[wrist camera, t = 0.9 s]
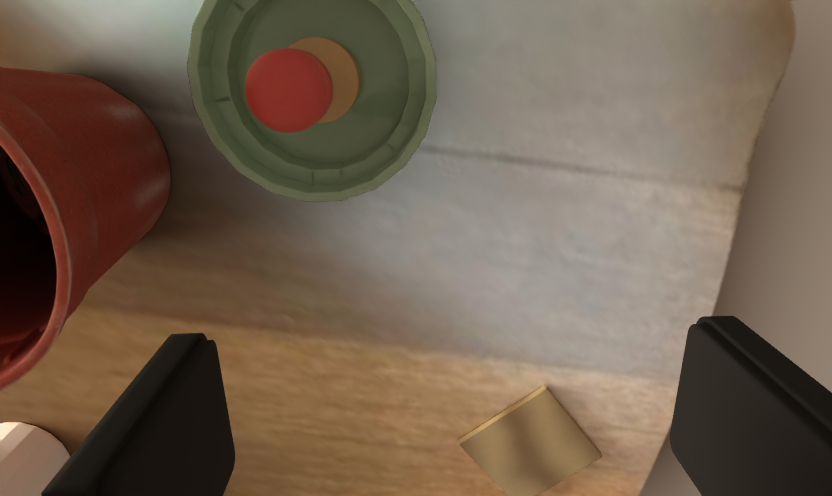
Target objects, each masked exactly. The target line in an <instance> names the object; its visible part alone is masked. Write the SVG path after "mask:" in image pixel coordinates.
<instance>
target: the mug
mask: <svg viewBox="0 0 832 496" xmlns="http://www.w3.org/2000/svg"><path fill="white" fill-rule="evenodd" d="M69 458H70V455H69V453H68V452H67V450H66V449H65V447H64V446H63V444H62V443H61V442H60V441H59V440H57V439H56V438H55V437H54V436H53V435H52V434H50V433H48V432H47V431H45V430H43V429H41V428H39V427H37V426H33V425H29V424H25V423H21V422H4V423H1V424H0V496H42V495H41V492H42V491H43V490H44V489H45V488H46V486H47V485H48V484H49V483H50V481H51V480H52V479H53V478H54V477H55V475H56V474H57V473H58V472H59V470H60V469H61V468H62V467H63V466H64V464H65V463H66V462H67V461H68V459H69Z"/></svg>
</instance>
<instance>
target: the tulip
mask: <svg viewBox="0 0 832 496" xmlns="http://www.w3.org/2000/svg"><path fill="white" fill-rule="evenodd" d="M361 86H362V74H361V70H360V66H359V64H358V62H357V60H356V58H355V56H354V55H353V54H352V52H351V51H350V50H349V49H348V48H346V47H345V46H344V45H342V44H341V43H339V42H337V41H334V40H332V39H327V38H322V37H307V38H303V39H300V40H298V41H296V42H294V43H293V44H291V45H290V46H289V47H288V48H279V49H274V50H271V51H268V52H266V53H264V54H262V55H261V56H260V57H258V58H257V59H256V60H255V61H254V62H253V63H252V65H251V66H250V68H249V70H248V72H247V75H246V78H245V86H244V87H245V97H246V100H247V104H248V106H249V108H250V110H251V112H252V113H253V114H254V116H255V117H256V118H257V119H258V120H259V121H260V122H261V123H262V124H264V125H265V126H267V127H268V128H270V129H273V130H275V131H278V132H283V133H294V132H299V131H303V130H305V129H308V128H309V127H311V126H312V125H314V124H315V123H319V124H320V123H328V122H332V121H335V120H337V119H339V118H340V117H342V116H343V115H344V114H346V113H347V112H348V111H349V110H350V108H351V107H352V106H353V105H354V104H355V102H356V101H357V99H358V97H359V94H360V91H361Z"/></svg>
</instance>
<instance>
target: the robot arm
mask: <svg viewBox="0 0 832 496" xmlns="http://www.w3.org/2000/svg"><path fill="white" fill-rule="evenodd" d="M670 443H671V448H672V450H673V453H674V455H675V456H676V458H677V459H678V461H679V462H680V464H681V465H682V467H683V468H684V470H685V471H686V473H687V474H688V475H689V477H690V478H691V480H692V481H693V483H694V484H695V486H696V487H697V489H698V490H699V492H700V493H701V494H702V496H832V393H831V392H830V391H829V390H827V389H826V388H825V387H824V386H822V385H821V384H820V383H819V382H817V381H816V380H815V379H814V378H812V377H811V376H810V375H808V374H807V373H806V372H805V371H803V370H802V369H801V368H799V367H798V366H797V365H796V364H794V363H793V362H792V361H791V360H789V359H788V358H787V357H785V356H784V355H783V354H782V353H781V352H779V351H778V350H777V349H775V348H774V347H773V346H772V345H770V344H769V343H768V342H767V341H765V340H764V339H763V338H761V337H760V336H759V335H758V334H756V333H755V332H754V331H753V330H751V329H750V328H749V327H748V326H746V325H745V324H744V323H743V322H741V321H740V320H739V319H738V318H736V317H734V316H710V317H701V318H700V319H699V320H698V321H697V323H696V324H693V325H691V326H690V328H689V330H688V335H687V340H686V346H685V352H684V357H683V363H682V369H681V375H680V380H679V386H678V392H677V397H676V403H675V409H674V415H673V420H672V426H671V432H670ZM234 463H235V449H234V443H233V438H232V432H231V426H230V421H229V415H228V409H227V403H226V398H225V392H224V386H223V381H222V375H221V369H220V363H219V358H218V352H217V347H216V344H215V342H214V341H213V340H207V338H206V336H205V335H204V334H203V333H189V334H172V335H170V336H169V337H168V338H167V340H166V341H165V342H164V343H163V345H162V346H161V347H160V348H159V349H158V351H157V352H156V353H155V354H154V356H153V357H152V358H151V359H150V360H149V362H148V363H147V364H146V365H145V367H144V368H143V369H142V370H141V371H140V373H139V374H138V375H137V376H136V378H135V379H134V380H133V381H132V382H131V384H130V385H129V386H128V387H127V389H126V390H125V391H124V392H123V393H122V395H121V396H120V397H119V398H118V400H117V401H116V402H115V403H114V404H113V406H112V407H111V408H110V409H109V411H108V412H107V413H106V414H105V415H104V417H103V418H102V419H101V420H100V422H99V423H98V424H97V425H96V426H95V428H94V429H93V430H92V431H91V433H90V434H89V435H88V436H87V437H86V439H85V440H84V441H83V442H82V444H81V445H80V446H79V447H78V448H77V450H76V451H75V452H74V453H73V455H72V456H71V457H70V458H69V459H68V461H67V462H66V463H65V464H64V466H63V467H62V468H61V469H60V470H59V472H58V473H57V474H56V475H55V477H54V478H53V479H52V480H51V481H50V483H49V484H48V485H47V486H46V488H45V489H44V490H43V491H42V492H41V495H42V496H223V494H224V491H225V489H226V486H227V484H228V481H229V479H230V476H231V474H232V471H233V468H234Z"/></svg>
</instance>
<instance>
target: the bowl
mask: <svg viewBox="0 0 832 496" xmlns="http://www.w3.org/2000/svg"><path fill="white" fill-rule="evenodd" d="M307 37H322V38H327V39H332V40H334V41H337V42H339V43H341V44H342V45H344V46H345V47H346V48H348V49H349V50H350V51H351V52H352V54H353V55H354V56H355V58H356V60H357V62H358V64H359V66H360V70H361V74H362V86H361V91H360V94H359V97H358V99H357V101H356V102H355V104H354V105H353V106H352V107H351V108H350V110H349V111H348V112H347V113H346V114H344V115H343V116H342V117H340V118H339V119H337V120H335V121H332V122H328V123H320V124H319V123H315V124H314V125H312V126H311V127H309V128H308V129H305V130H303V131H299V132H294V133H283V132H278V131H275V130H273V129H270V128H268V127H267V126H265V125H264V124H262V123H261V122H260V121H259V120H258V119H257V118H256V117H255V116H254V114H253V113H252V112H251V110H250V108H249V106H248V104H247V100H246V97H245V87H244V86H245V78H246V75H247V72H248V70H249V68H250V66H251V65H252V63H253V62H254V61H255V60H256V59H257V58H258V57H260V56H261V55H262V54H264V53H266V52H268V51H271V50H274V49H279V48H288V47H289V46H290V45H291V44H293V43H294V42H296V41H298V40H300V39H303V38H307ZM187 70H188V76H189V82H190V88H191V94H192V100H193V106H194V108H195V110H196V112H197V114H198V116H199V118H200V120H201V122H202V124H203V126H204V128H205V130H206V132H207V134H208V136H209V138H210V141H211V142H212V144H213V145H214V146H215V147H216V148H217V149H218V150H219V152H220V153H221V154H222V155H223V156H224V157H225V158H226V159H227V160H228V161H229V163H230V164H231V165H232V166H233V167H234V168H235V169H236V170H237V171H238V172H239V173H240V174H242V175H244V176H245V177H247V178H249V179H250V180H252V181H253V182H255V183H257V184H258V185H260V186H262V187H263V188H265V189H266V190H268V191H270V192H272V193H276V194H279V195H283V196H287V197H290V198H294V199H298V200H302V201H307V202H316V201H342V200H346V199H348V198H351V197H354V196H357V195H360V194H362V193H365V192H368V191H371V190H374V189H376V188H377V187H379V186H380V185H381V184H383V183H384V182H385V181H386V180H388V179H389V178H390V177H392V176H393V175H394V174H396V173H397V172H398V171H399V170H401V169H402V168H403V167H404V166H405V165H406V164H407V162H408V161H409V159H410V158H411V156H412V155H413V153H414V152H415V150H416V149H417V147H418V146H419V144H420V143H421V142H422V140H423V139H424V137H425V135H426V132H427V129H428V125H429V122H430V118H431V115H432V112H433V108H434V105H435V102H436V59H435V54H434V51H433V48H432V45H431V42H430V39H429V36H428V33H427V30H426V26H425V23H424V20H423V19H422V16H421V15H420V13H419V12H418V11H417V9H416V8H415V6H414V5H413V3H412V2H411V1H410V0H205V1H204V3H203V5H202V7H201V9H200V11H199V13H198V15H197V17H196V19H195V21H194V23H193V26H192V33H191V40H190V47H189V55H188V62H187Z"/></svg>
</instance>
